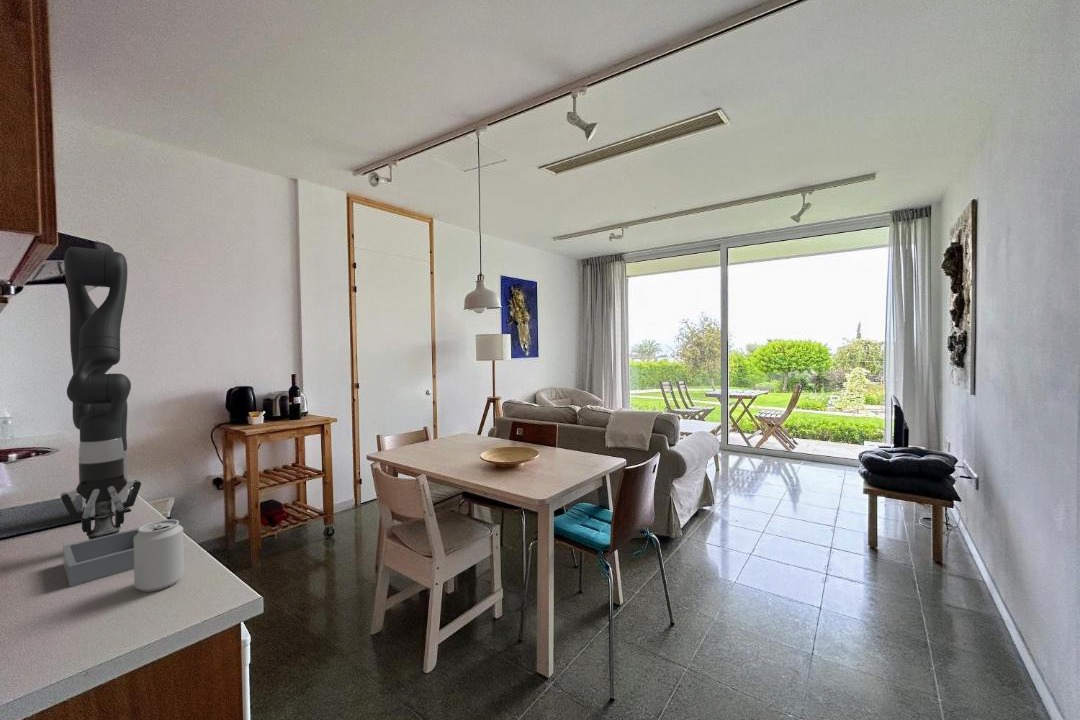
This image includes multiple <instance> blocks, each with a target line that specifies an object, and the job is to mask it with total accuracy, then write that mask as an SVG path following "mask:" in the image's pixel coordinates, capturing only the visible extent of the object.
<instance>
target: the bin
mask: <svg viewBox="0 0 1080 720" xmlns="http://www.w3.org/2000/svg"><path fill="white" fill-rule="evenodd" d="M139 528H140V527H138V528H134V529H130V530H125V531H119V533H116V534H112V535H108V536H103V537H99V538H95V539H91V540H89V539H87V540H82V541H79V542H78V541H77V542H75V543H70V544H67V545H66V544H65V545H62V565H63V569H64V572H65V575H66V579H67V581H68V584H69V585H68V586H69V587H74V586H77V585H82V584H83V583H84V584H85V583H88V582H91V581H96V580H97V579H101V578H105V577H109V576H112V575H115V574H119V573H122V572H126V571H129V569H130V570H134V548H133V547H134V537H135V535H136V534H137V533H138V529H139Z"/></svg>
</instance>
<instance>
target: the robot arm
mask: <svg viewBox="0 0 1080 720" xmlns="http://www.w3.org/2000/svg"><path fill="white" fill-rule="evenodd" d="M63 267H64V276H65V282H66V289H67V298H68V304H69V326H70V327H69V343H70V344H69V345H70V356H71V357H70V358H71V365H72V373H73V374H72V376H71V378H70V379H69V381H68V385H67V386H66V387H67V388H66V394H67V398H68V400H70V402H72V421H73V425H74V426H75V428H76V429H77V430H79V447H78V482H79V483H78V485H77V486H76V488H75V489H73V490H70V491H68V492H65V491H64V492H61V493H60V499H61V501H62V502H63V505H64V506H65V508H66V510H67V512H68V515H69V516H70V518H71V519H81V530H82V532H83V533H86V534H90V533H91V530H92V518H91V517H93V516H94V515H95V503H97V502H100V501H103V500H111V501H112V512H114V525H115V526H116V527H120V526H121V525H123V524H124V523H125V511H126V510H125V509H127V508H128V509H129V508H130V507H133V506H134V505H135V502H136V500H137V497H138V495H139V491H140V489H141V486H142V483H141V481H140V480H138V479H135V480H129V472H128V470H129V469H128V467H129V466H128V440H127V437H128V436H127V426H128V409H129V408H128V402H127V401H128V397H129V395H130V393H131V389H132V383H131V380H130V379H129V377H128V376H126V375H125V374H124V373H107V372H108V371H109V370H110V369H111V368H112V367H113V366H115V365H117V364H119V363H120V360H121V327H122V326H121V325H122V318H123V313H124V308H125V301H126V293H127V284H128V263H127V259H126V257H125V255H124V254H123V253H121V252H118V251H112V250H104V249H96V248H89V247H88V248H87V247H78V246H71V247H68V248H67V249H66V250H65V252H64V258H63ZM87 286H88V287H99V288H100V287H101V288H108V294H107V296H106V298H105V300H104V301H103V302H102V304H101V305H100V306H99V307H98V306H97V305H95V303H94V301H93V300H92V298H91V297H90V294H89V293H88V291H87V288H86V287H87ZM78 494H79V496H81V497H82V509H81V510H77V509H76V506H75V505H74V503H73V502H74V501H75V500H76V496H77V495H78ZM128 509H127V510H128ZM124 510H125V511H124Z"/></svg>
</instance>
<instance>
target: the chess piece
mask: <svg viewBox="0 0 1080 720" xmlns="http://www.w3.org/2000/svg"><path fill="white" fill-rule="evenodd" d="M113 514H114V512H112V501H111V500H103V501H100V502H97V503H95V515H94V516H93V518H92V519H94V526H93V529H91V533H90V534H87V533H86V535H85V536H87V537H88V540H91V539H95V538H99V537H103V536H108V535H112V534H116V533H120V530H121V528H122V526H121V525H120V527H116V526H115V523H114V521H113V516H114V515H115V514H114V515H113Z"/></svg>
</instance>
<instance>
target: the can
mask: <svg viewBox="0 0 1080 720" xmlns="http://www.w3.org/2000/svg"><path fill="white" fill-rule="evenodd" d="M179 523H180V521H179V520H178V519H161V520H156V521H153V522H150V523H146V524H144V525H141V526H140V527H138V528H139V529H138V533H137V534H136V535H135V537H134V568H133V579H134V581H133V582H134V588H135V589H137V590H139V591H142V592H144V593H145V592H146V593H147V592H156V591H160V590H164V589H166V587H167V588H169V587H171V586H173V585H175V584H176V583H178V581H179V580H180V579H181V578H182V577H183V576H184V574H185V560H184V559H185V555H184V553H185V551H184V549H185V548H184V527H183V526H182V525H181V524H179ZM174 583H175V584H174ZM172 584H173V585H172ZM168 586H169V587H168ZM163 588H164V589H163Z"/></svg>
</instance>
